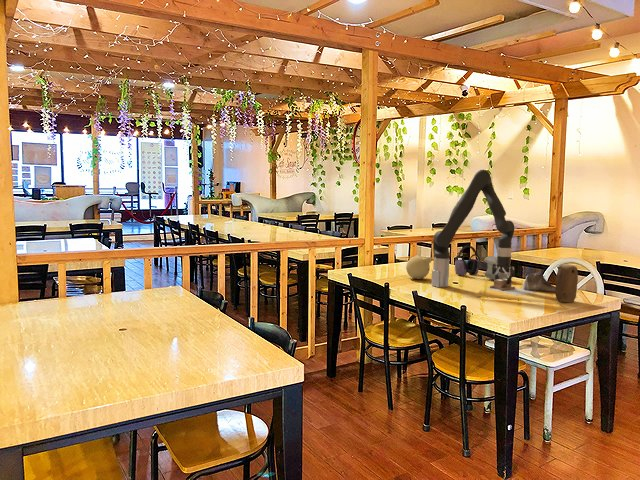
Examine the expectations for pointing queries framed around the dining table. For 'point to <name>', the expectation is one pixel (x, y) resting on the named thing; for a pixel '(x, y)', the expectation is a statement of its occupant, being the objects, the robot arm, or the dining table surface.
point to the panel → (512, 290)
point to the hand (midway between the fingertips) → (502, 283)
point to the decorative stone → (490, 261)
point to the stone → (566, 283)
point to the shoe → (537, 283)
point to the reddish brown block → (501, 284)
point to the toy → (418, 267)
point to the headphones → (467, 264)
